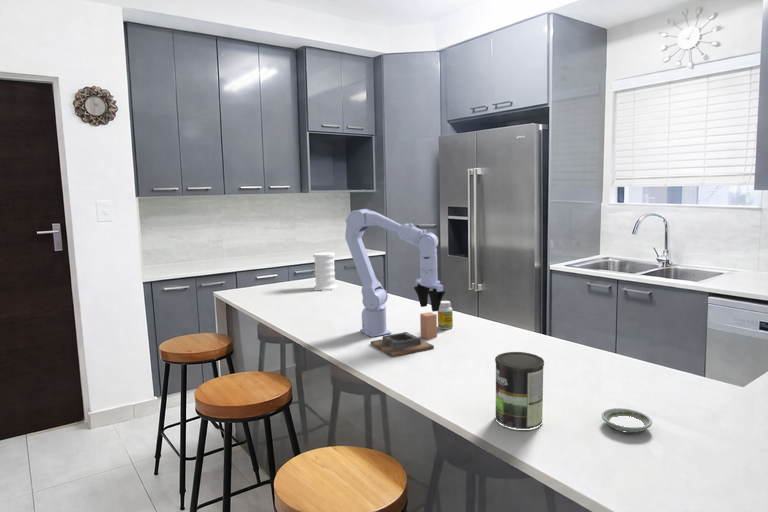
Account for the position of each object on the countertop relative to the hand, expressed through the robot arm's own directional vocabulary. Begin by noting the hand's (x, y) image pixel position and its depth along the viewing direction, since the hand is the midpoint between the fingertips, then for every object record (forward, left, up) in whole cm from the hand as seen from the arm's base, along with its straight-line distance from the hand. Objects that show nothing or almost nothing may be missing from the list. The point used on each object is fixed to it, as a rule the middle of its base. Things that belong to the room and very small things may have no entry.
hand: (429, 308), depth 176 cm
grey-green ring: (+77, 0, -10) cm, 77 cm away
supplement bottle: (-6, +11, -10) cm, 16 cm away
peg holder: (+4, -13, -10) cm, 17 cm away
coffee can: (+63, -17, -10) cm, 66 cm away
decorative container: (-98, +1, -10) cm, 99 cm away
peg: (0, 0, -10) cm, 10 cm away
